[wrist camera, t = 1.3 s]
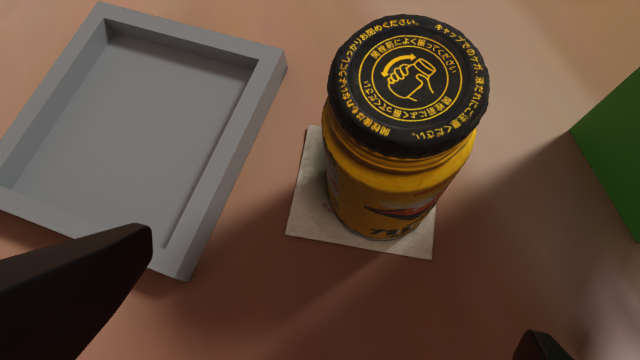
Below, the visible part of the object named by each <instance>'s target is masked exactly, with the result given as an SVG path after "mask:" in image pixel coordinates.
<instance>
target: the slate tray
mask: <svg viewBox="0 0 640 360" xmlns="http://www.w3.org/2000/svg"><path fill="white" fill-rule="evenodd" d="M287 69H288V67H287V63H286V58H285V54H284V49H280V48H276V47H272V46H268V45H264V44H261V43H257V42H253V41H249V40H245V39H241V38H238V37H234V36H230V35H226V34H222V33H218V32H215V31H211V30H207V29H203V28H199V27H195V26H192V25H188V24H184V23H180V22H176V21H172V20H169V19H165V18H161V17H157V16H153V15H149V14H146V13H142V12H138V11H134V10H130V9H126V8H123V7H119V6H115V5H111V4H107V3H103V2H100V1H98V2H97V4H96V5H95V6H94V8H93V9H92V11H91V12H90V14H89V15H88V16H87V18H86V19H85V21H84V22H83V23H82V25H81V26H80V28H79V29H78V31H77V32H76V33H75V35H74V36H73V38H72V39H71V41H70V42H69V43H68V45H67V46H66V48H65V49H64V50H63V52H62V53H61V55H60V56H59V58H58V59H57V60H56V62H55V63H54V65H53V66H52V67H51V69H50V70H49V72H48V73H47V75H46V76H45V77H44V79H43V80H42V82H41V83H40V85H39V86H38V87H37V89H36V90H35V92H34V93H33V94H32V96H31V97H30V99H29V100H28V102H27V103H26V104H25V106H24V107H23V109H22V110H21V111H20V113H19V114H18V116H17V117H16V119H15V120H14V121H13V123H12V124H11V126H10V127H9V129H8V130H7V131H6V133H5V134H4V136H3V137H2V138H1V140H0V209H1V210H3V211H6V212H8V213H11V214H13V215H16V216H18V217H21V218H23V219H26V220H28V221H31V222H33V223H36V224H38V225H41V226H44V227H46V228H49V229H51V230H54V231H56V232H59V233H61V234H64V235H66V236H69V237H71V238H74V239H76V238H80V237H83V236H87V235H90V234H94V233H98V232H101V231H105V230H108V229H112V228H115V227H119V226H123V225H126V224H130V223H140V224H144V225H148V226H149V227H150V228H151V229H152V239H153V257H152V260H151V262H150V264H149V265H148V266H147V268H149V269H152V270H154V271H157V272H160V273H162V274H165V275H167V276H170V277H172V278H175V279H178V280H182V281H185V282H189V281H190V278H191V276H192V274H193V272H194V270H195V268H196V266H197V263H198V261H199V259H200V257H201V255H202V253H203V250H204V248H205V246H206V244H207V242H208V240H209V238H210V235H211V233H212V231H213V229H214V227H215V225H216V222H217V220H218V218H219V216H220V214H221V212H222V210H223V207H224V205H225V203H226V201H227V199H228V197H229V194H230V192H231V190H232V188H233V186H234V184H235V182H236V179H237V177H238V175H239V173H240V171H241V169H242V166H243V164H244V162H245V160H246V158H247V156H248V154H249V151H250V149H251V147H252V145H253V143H254V141H255V138H256V136H257V134H258V132H259V130H260V128H261V125H262V123H263V121H264V119H265V117H266V115H267V113H268V110H269V108H270V106H271V104H272V102H273V100H274V97H275V95H276V93H277V91H278V89H279V87H280V85H281V82H282V80H283V78H284V76H285V74H286V72H287Z"/></svg>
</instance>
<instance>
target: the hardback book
mask: <svg viewBox="0 0 640 360" xmlns="http://www.w3.org/2000/svg"><path fill="white" fill-rule="evenodd" d="M569 131H570V133H571V135H572V136H573V138H574V140H575V141H576V143H577V145H578V146H579V148H580V150H581V151H582V153H583V155H584V156H585V158H586V160H587V161H588V163H589V165H590V166H591V168H592V169H593V171H594V173H595V174H596V176H597V178H598V179H599V181H600V183H601V184H602V186H603V188H604V189H605V191H606V193H607V194H608V196H609V198H610V199H611V201H612V203H613V204H614V206H615V207H616V209H617V211H618V212H619V214H620V216H621V217H622V219H623V221H624V222H625V224H626V226H627V227H628V229H629V231H630V232H631V234H632V236H633V237H634V239H635V241H636V242H637V243H639V242H640V67H639V68H638V69H637V70H635V71H634V72H633V73H632V74H631V75H630V76H629V77H628V78H626V79H625V80H624V81H623V82H622V83H621V84H620V85H619V86H618V87H616V88H615V89H614V90H613V91H612V92H611V93H610V94H609V95H607V96H606V97H605V98H604V99H603V100H602V101H601V102H600V103H598V104H597V105H596V106H595V107H594V108H593V109H592V110H591V111H589V112H588V113H587V114H586V115H585V116H584V117H583V118H582V119H581V120H579V121H578V122H577V123H576V124H575V125H574V126H573V127H572V128H570V129H569Z"/></svg>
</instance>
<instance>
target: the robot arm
mask: <svg viewBox="0 0 640 360" xmlns="http://www.w3.org/2000/svg"><path fill="white" fill-rule="evenodd" d="M152 257H153V239H152V229H151V228H150V227H149V226H148V225H144V224H140V223H130V224H126V225H123V226H119V227H115V228H112V229H108V230H105V231H101V232H98V233H94V234H90V235H87V236H83V237H80V238H76V239H73V240H69V241H65V242H62V243H58V244H55V245H51V246H47V247H44V248H40V249H37V250H33V251H30V252H26V253H22V254H19V255H15V256H12V257H8V258H4V259H1V260H0V360H76V358H77V357H78V356H79V355H80V354H81V353H82V351H83V350H84V349H85V348H86V347H87V345H88V344H89V343H90V342H91V341H92V340H93V338H94V337H95V336H96V335H97V334H98V333H99V331H100V330H101V329H102V328H103V327H104V325H105V324H106V323H107V322H108V321H109V320H110V318H111V317H112V316H113V315H114V313H115V312H116V311H117V309H118V308H119V307H120V305H121V304H122V303H123V301H124V300H125V298H126V297H127V295H128V294H129V292H130V291H131V290H132V288H133V287H134V285H135V284H136V282H137V281H138V279H139V278H140V277H141V275H142V274H143V272H144V271H145V269H146V268H147V266H148V265H149V264H150V262H151V260H152ZM512 360H574V359H573V358H572V357H571V356H570V355H569V354H568V353H567V352H566V351H565V350H564V349H563V348H562V347H561V346H560V345H559V344H558V343H557V342H556V341H555V339H554V338H553V337H552V336H550V335H549V334H547V333H544V332H541V331H537V330H533V329H528V330H527V331H525V333H524V335H523V337H522V339H521V341H520V343H519V344H518V346H517V348H516V350H515V352H514V355H513V358H512Z"/></svg>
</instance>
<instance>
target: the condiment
mask: <svg viewBox="0 0 640 360" xmlns="http://www.w3.org/2000/svg"><path fill="white" fill-rule="evenodd" d="M489 81H490V80H489V74H488V69H487V68H486V66H485V64H484V60H483V57H482V56H481V54H480V52H479V51H478V49H477V48H476V47H475V46H474V45H473V44H472V43H471V41H470V40H469V39H467V38H466V37H465V36H464V34H463V33H462V32H461V31H459V30H457V29H455V28H454V27H452V26H450V25H448V24H446V23H443V22H440V21H437V20H435V19H432V18H429V17H426V16H419V15H406V14H399V15H392V16H385V17H382V18H380V19H377V20H374V21H372V22H370V23H369V24H367V25H365V26H364V27H363V28H361V29H360V30H359V31H357V32H356V33H354V34H353V35H352V36H351V37H350V38H349V39H348V40H347V41H346V42H345V43H344V44H343V45H342V46H341V47H340V48H339V49H338V51H337V52H336V55H335V57H334V59H333V61H332V64H331V68H330V72H329V76H328V83H327V91H328V97H327V99H326V102H325V105H324V108H323V111H322V120H321V123H322V126H315V125H309V126H308V131H307V136H306V142H305V146H304V151H303V155H302V160H301V165H300V170H299V174H298V178H297V183H296V188H295V192H294V196H293V201H292V205H291V210H290V215H289V218H288V223H287V227H286V232H285V235H290V236H297V237H303V238H307V239H314V240H320V241H326V242H331V243H337V244H342V245H348V246H353V247H358V248H364V249H369V250H376V251H381V252H387V253H393V254H398V255H405V256H410V257H416V258H422V259H430V260H432V248H433V235H434V223H435V212H436V203H437V201H438V200H439V198H440V196H441V195H442V194H443V192H444V191H445V190H446V188H447V187H448V185H449V184H450V183H451V181H452V180H453V179H454V178H455V176H456V175H457V173H458V172H459V171H460V169H461V168H462V166H463V165H464V163H465V162H466V160H467V159H468V157H469V155H470V152H471V150H472V147H473V143H474V140H475V136H476V132H477V131H476V126H477V125H478V124H479V122H480V119H481V117H482V116H483V115H484V113H485V112H486V110H487V106H488V98H489V91H490V88H489ZM323 203H325V204H326V205H327V208H325V207H324V206H323ZM328 209H331V210H332V212H329V210H328Z"/></svg>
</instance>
